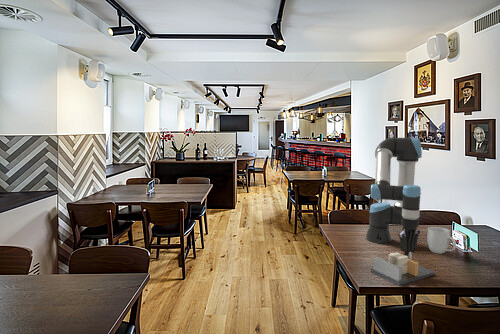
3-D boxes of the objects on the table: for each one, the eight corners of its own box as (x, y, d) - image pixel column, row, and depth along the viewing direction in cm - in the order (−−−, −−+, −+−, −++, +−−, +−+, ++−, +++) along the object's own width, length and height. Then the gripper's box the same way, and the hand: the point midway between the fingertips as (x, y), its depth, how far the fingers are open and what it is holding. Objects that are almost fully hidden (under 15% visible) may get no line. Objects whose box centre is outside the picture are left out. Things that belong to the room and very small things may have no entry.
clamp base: (370, 272, 155) (371, 257, 154) (404, 262, 167) (405, 248, 166) (399, 285, 141) (400, 269, 140) (434, 274, 153) (435, 259, 152)
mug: (459, 254, 178) (461, 232, 176) (449, 259, 172) (451, 235, 170) (432, 247, 190) (433, 225, 189) (422, 250, 184) (423, 228, 183)
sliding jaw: (389, 265, 160) (389, 253, 159) (392, 264, 161) (392, 252, 160) (415, 276, 147) (415, 263, 147) (417, 275, 148) (418, 262, 148)
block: (387, 270, 153) (388, 254, 153) (396, 268, 156) (397, 252, 155) (398, 275, 148) (399, 258, 147) (407, 272, 151) (408, 256, 150)
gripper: (411, 214, 159) (409, 260, 161) (394, 217, 153) (391, 264, 155) (426, 217, 152) (423, 265, 155) (408, 221, 146) (405, 270, 149)
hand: (407, 265), depth 155 cm, fingers closed
